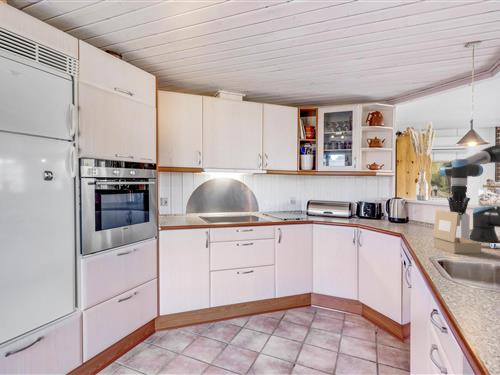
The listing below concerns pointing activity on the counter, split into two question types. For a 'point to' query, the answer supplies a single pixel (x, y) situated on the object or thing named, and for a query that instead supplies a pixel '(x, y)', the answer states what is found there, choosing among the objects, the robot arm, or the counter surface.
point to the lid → (445, 225)
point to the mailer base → (458, 246)
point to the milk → (463, 227)
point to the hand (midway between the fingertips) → (457, 225)
